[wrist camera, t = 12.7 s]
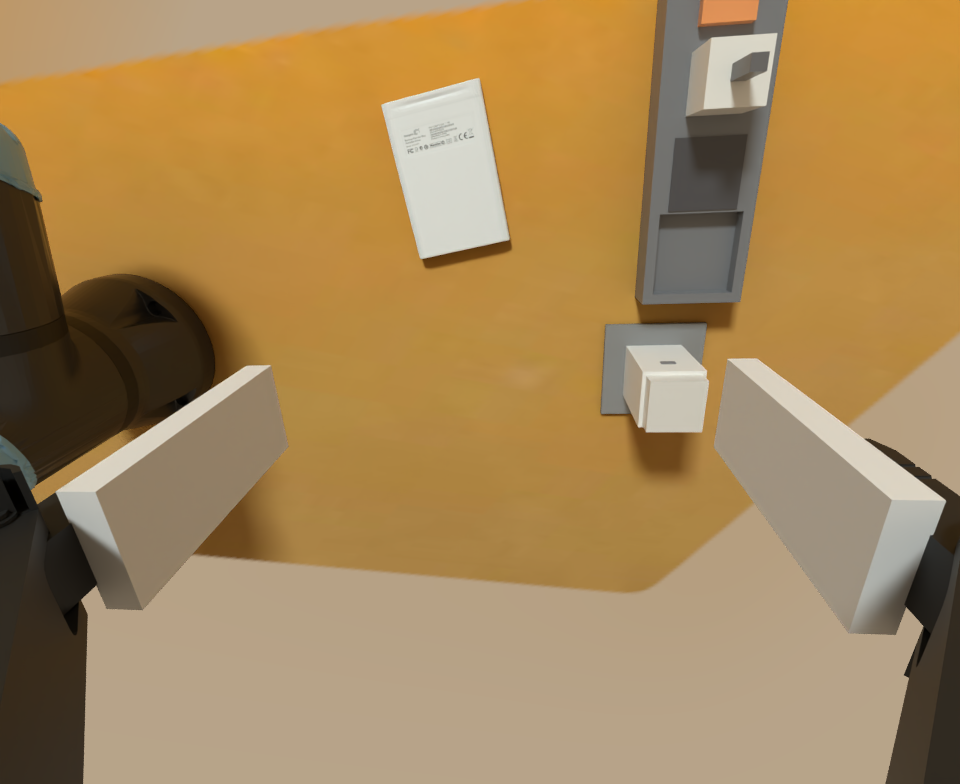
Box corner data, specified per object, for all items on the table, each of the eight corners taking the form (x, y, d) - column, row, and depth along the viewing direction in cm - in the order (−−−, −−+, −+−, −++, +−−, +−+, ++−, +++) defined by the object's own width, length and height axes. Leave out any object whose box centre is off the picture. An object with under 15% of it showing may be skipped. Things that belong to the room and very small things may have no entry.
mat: (600, 412, 50) (601, 413, 49) (605, 324, 46) (606, 325, 46) (693, 411, 49) (694, 413, 49) (705, 322, 46) (707, 323, 45)
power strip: (726, 294, 44) (779, 323, 35) (634, 297, 45) (663, 326, 36) (793, -158, 33) (898, -290, 24) (668, -145, 34) (723, -268, 24)
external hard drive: (422, 257, 46) (384, 106, 41) (510, 238, 45) (480, 80, 40) (419, 259, 44) (379, 104, 40) (509, 240, 43) (479, 77, 39)
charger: (622, 394, 48) (641, 435, 41) (626, 345, 47) (647, 377, 39) (675, 394, 48) (705, 435, 40) (681, 344, 46) (713, 376, 38)
